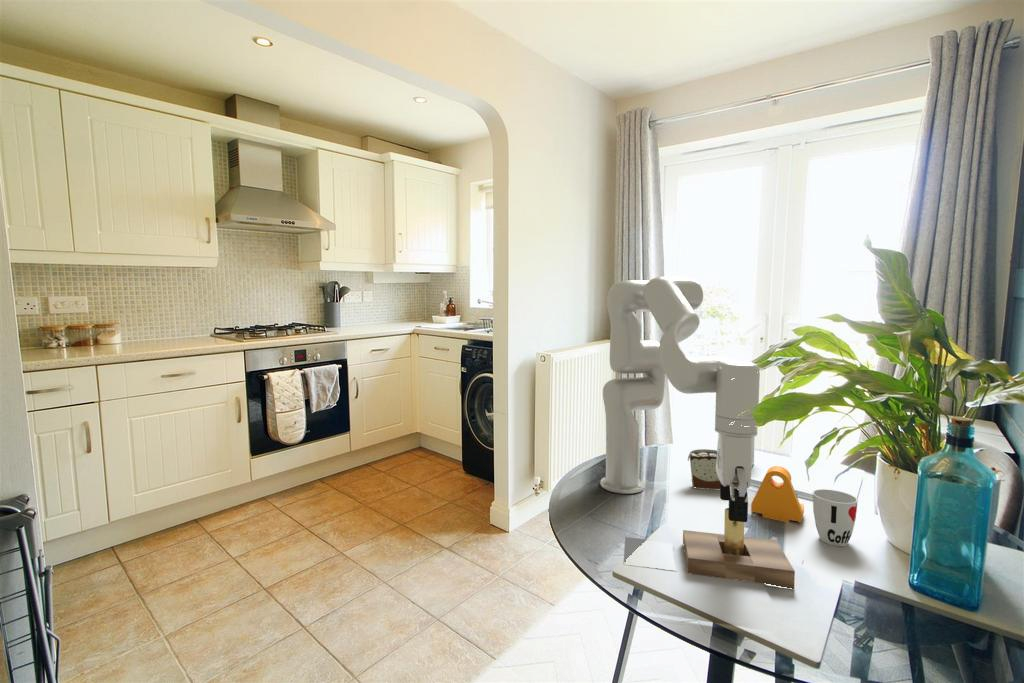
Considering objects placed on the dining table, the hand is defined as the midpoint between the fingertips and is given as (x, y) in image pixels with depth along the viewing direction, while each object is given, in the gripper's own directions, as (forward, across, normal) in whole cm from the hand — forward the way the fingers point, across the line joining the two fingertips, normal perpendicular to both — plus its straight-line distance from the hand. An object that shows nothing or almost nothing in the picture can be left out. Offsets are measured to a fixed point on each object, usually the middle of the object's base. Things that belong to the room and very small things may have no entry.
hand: (732, 509), depth 93 cm
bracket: (+12, -28, +15) cm, 34 cm away
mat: (+11, +1, -16) cm, 19 cm away
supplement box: (+13, -68, +14) cm, 71 cm away
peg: (+11, +1, 0) cm, 11 cm away
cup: (+11, -16, +23) cm, 31 cm away
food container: (+12, -45, +1) cm, 47 cm away
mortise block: (+11, +1, 0) cm, 11 cm away
